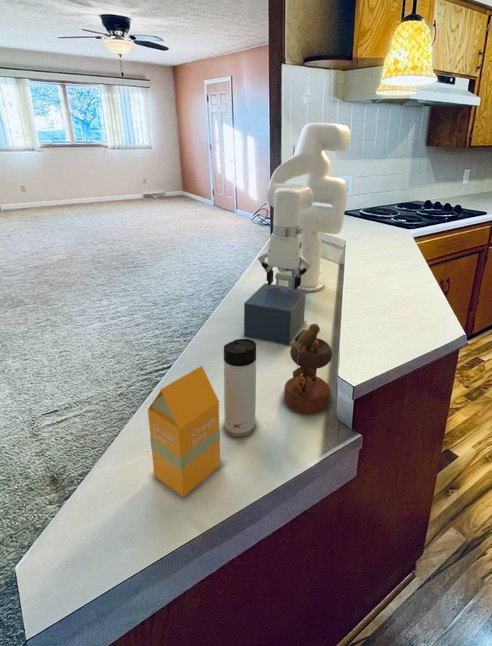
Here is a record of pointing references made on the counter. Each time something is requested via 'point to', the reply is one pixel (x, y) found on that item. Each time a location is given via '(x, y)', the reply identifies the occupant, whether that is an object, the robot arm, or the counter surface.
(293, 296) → the lid
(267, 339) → the box
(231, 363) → the travel mug
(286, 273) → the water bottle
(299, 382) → the music box
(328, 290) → the counter surface
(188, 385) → the orange juice
